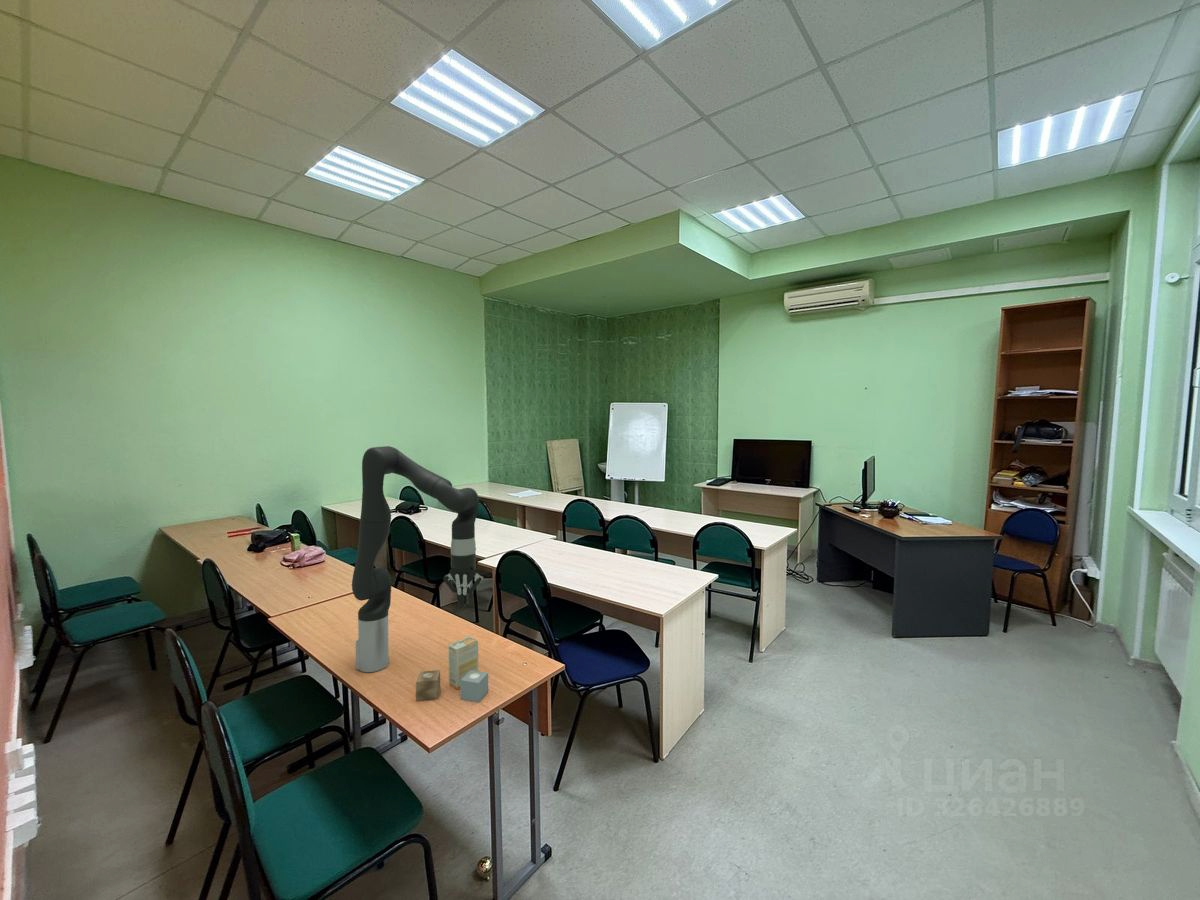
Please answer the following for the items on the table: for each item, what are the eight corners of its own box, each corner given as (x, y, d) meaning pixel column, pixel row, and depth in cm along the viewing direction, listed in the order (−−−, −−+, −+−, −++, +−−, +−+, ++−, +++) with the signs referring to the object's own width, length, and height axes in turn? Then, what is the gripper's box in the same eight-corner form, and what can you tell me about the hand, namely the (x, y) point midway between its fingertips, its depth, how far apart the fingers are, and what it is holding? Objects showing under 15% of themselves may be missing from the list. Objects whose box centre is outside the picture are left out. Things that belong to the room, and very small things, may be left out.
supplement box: (470, 674, 154) (470, 635, 154) (479, 679, 151) (478, 639, 151) (448, 684, 148) (447, 644, 147) (456, 690, 145) (456, 648, 144)
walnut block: (416, 701, 139) (415, 681, 138) (420, 690, 145) (419, 671, 144) (437, 699, 140) (437, 679, 140) (440, 688, 146) (440, 669, 145)
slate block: (460, 699, 140) (460, 679, 140) (470, 688, 146) (470, 669, 145) (478, 702, 138) (478, 682, 138) (488, 691, 144) (488, 672, 144)
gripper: (438, 554, 145) (438, 609, 145) (479, 555, 144) (479, 610, 144) (447, 548, 152) (447, 600, 153) (487, 549, 151) (487, 601, 152)
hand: (463, 605), depth 148 cm, fingers closed
